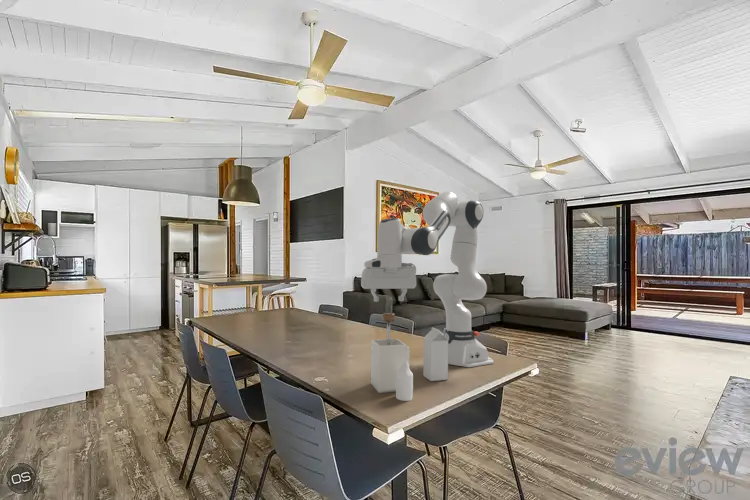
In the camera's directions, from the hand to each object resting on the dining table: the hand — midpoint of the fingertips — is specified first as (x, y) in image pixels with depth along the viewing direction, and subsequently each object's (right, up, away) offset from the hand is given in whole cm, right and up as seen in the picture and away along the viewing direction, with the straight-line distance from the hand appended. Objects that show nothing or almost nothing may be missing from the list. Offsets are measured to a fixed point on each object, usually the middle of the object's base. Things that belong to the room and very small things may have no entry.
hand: (388, 301), depth 135 cm
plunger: (0, -20, 0) cm, 20 cm away
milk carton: (+18, -31, +10) cm, 38 cm away
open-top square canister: (+1, -31, 0) cm, 31 cm away
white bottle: (+5, -31, -10) cm, 33 cm away
